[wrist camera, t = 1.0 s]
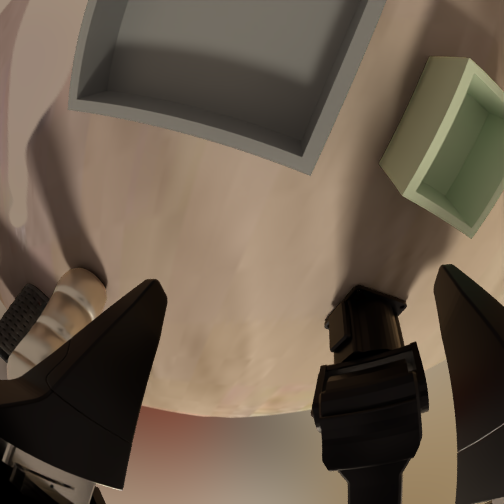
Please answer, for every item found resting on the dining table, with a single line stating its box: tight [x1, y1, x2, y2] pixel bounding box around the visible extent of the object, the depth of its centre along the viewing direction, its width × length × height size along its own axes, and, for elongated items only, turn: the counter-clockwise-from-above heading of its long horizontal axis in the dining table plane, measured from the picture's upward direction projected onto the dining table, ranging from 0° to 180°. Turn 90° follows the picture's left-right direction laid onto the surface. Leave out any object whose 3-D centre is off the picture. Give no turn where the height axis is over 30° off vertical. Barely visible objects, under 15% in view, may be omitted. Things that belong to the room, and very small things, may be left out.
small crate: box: [379, 56, 504, 239], centre depth 12 cm, size 6×9×5 cm
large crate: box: [68, 0, 386, 176], centre depth 10 cm, size 16×16×4 cm
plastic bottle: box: [7, 268, 107, 380], centre depth 22 cm, size 6×7×20 cm
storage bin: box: [0, 284, 50, 363], centre depth 38 cm, size 29×19×13 cm
